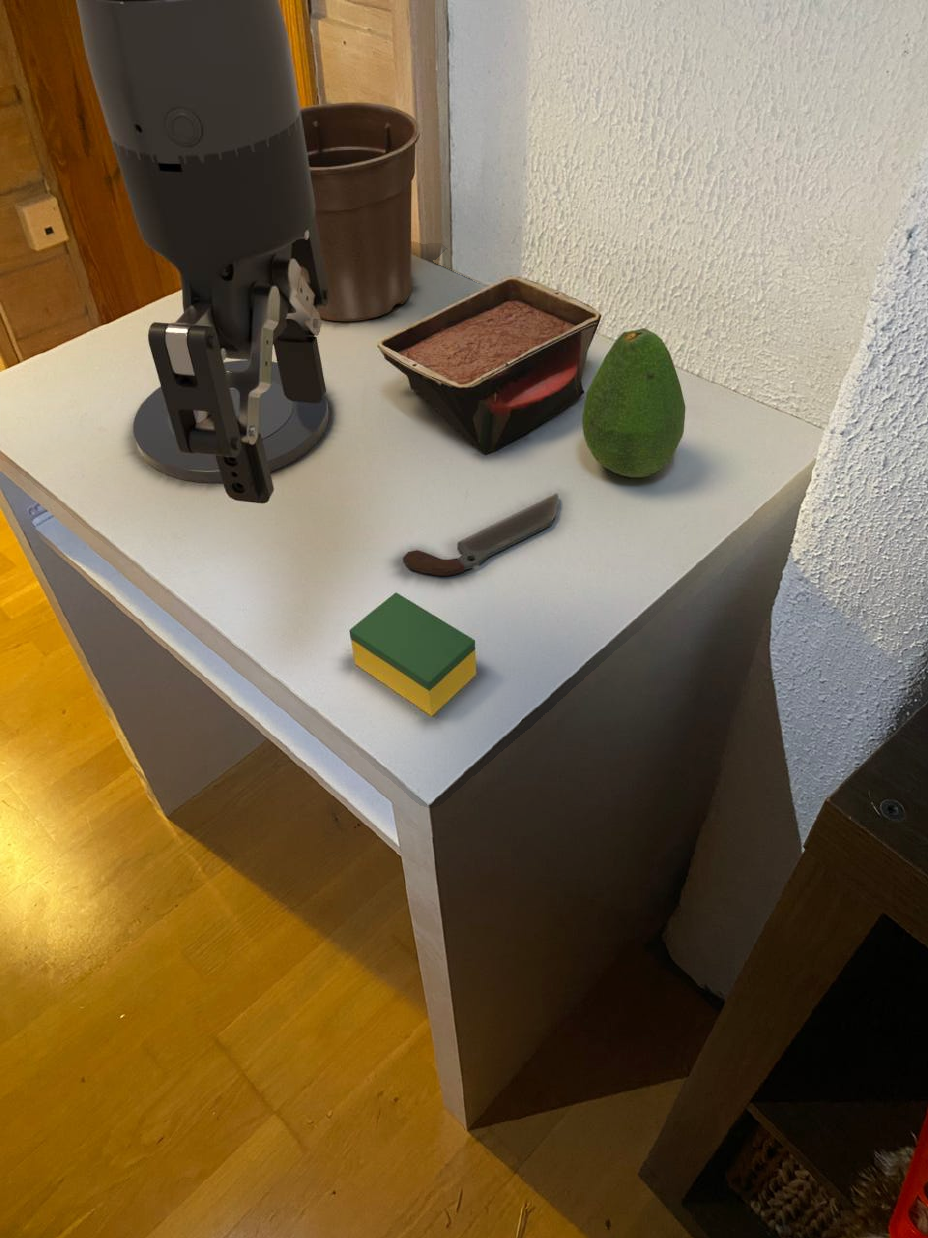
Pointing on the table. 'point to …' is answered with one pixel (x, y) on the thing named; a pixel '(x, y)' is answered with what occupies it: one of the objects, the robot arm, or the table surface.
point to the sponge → (414, 653)
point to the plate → (280, 419)
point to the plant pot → (362, 204)
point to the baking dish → (498, 359)
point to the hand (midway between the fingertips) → (280, 445)
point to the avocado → (634, 406)
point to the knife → (488, 540)
